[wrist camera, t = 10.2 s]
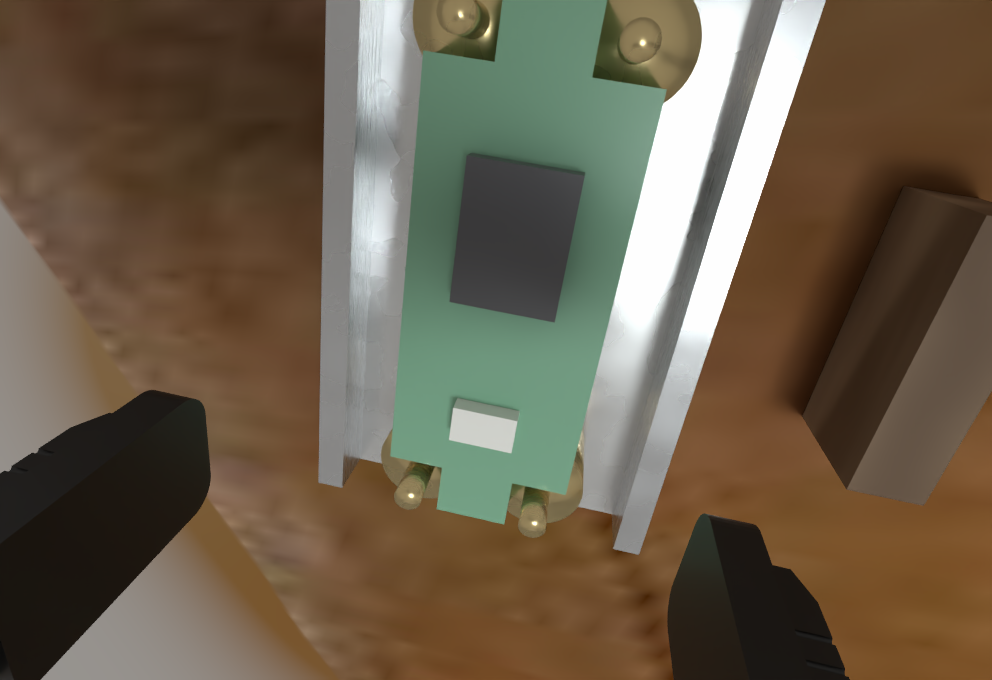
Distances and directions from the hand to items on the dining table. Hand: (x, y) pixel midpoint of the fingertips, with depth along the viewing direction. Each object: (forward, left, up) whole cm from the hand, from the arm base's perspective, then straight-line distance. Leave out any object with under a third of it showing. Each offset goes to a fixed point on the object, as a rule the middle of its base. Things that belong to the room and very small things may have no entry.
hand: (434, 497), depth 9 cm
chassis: (0, 0, -14) cm, 14 cm away
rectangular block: (-13, 0, -14) cm, 19 cm away
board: (0, 0, -10) cm, 10 cm away
